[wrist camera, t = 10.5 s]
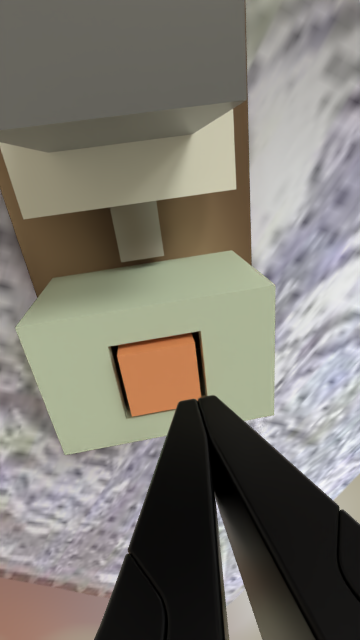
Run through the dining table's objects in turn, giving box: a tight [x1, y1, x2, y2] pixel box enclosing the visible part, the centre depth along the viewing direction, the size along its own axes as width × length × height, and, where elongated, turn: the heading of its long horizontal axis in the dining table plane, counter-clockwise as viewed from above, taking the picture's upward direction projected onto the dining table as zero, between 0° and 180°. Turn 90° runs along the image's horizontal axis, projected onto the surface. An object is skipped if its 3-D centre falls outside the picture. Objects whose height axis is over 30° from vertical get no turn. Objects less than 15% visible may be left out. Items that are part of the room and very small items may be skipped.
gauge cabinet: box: [15, 250, 275, 455], centre depth 15 cm, size 10×6×6 cm, turn 98°
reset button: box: [117, 333, 201, 417], centre depth 14 cm, size 3×3×4 cm
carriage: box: [0, 0, 247, 219], centre depth 9 cm, size 8×7×8 cm
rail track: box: [0, 8, 252, 363], centre depth 13 cm, size 11×26×2 cm, turn 8°
